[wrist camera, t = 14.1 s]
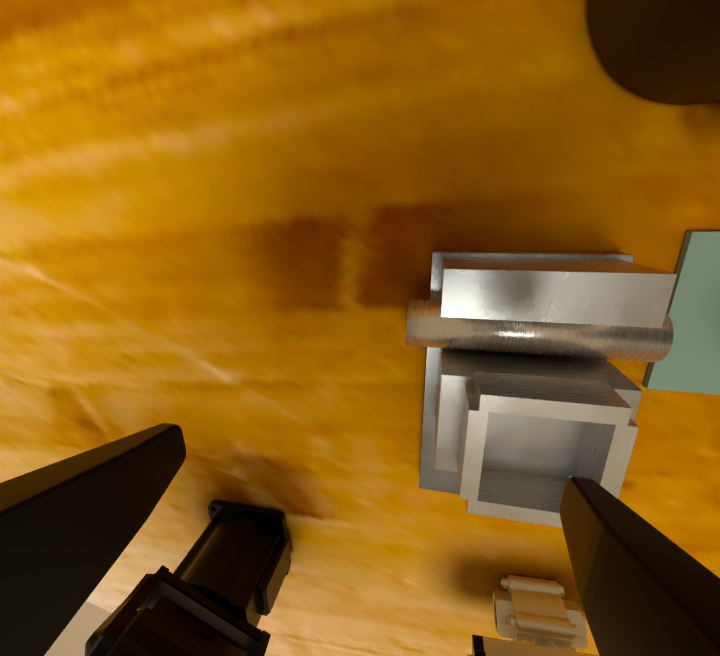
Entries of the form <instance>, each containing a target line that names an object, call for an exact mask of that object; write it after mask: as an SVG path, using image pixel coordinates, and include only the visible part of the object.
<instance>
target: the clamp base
mask: <svg viewBox="0 0 720 656" xmlns="http://www.w3.org/2000/svg"><path fill="white" fill-rule="evenodd" d="M633 258H634V255H630V254H626V253H621V252H545V251H462V250H433V255H432V272H431V290H430V300H424V299H410V300H409V306H408V316H407V346H419V347H427V359H426V377H425V394H424V411H423V429H422V446H421V464H420V481H419V488H422V489H428V490H435V491H442V492H449V493H455V494H459V483H458V472H452V471H445V470H437V469H435V416H436V402H437V387H438V373H439V359H440V348H448V349H463V350H478V351H493V352H508V353H523V354H537V355H552V356H567V357H582V358H597V359H606V360H608V361H609V359H612V360H627V361H641V362H659V361H661V360H663V359H664V358H665V357H666V356H667V355H668V353H669V351H670V349H671V347H672V343H673V337H674V330H673V324H672V321H671V319H670V317H669V315H668V314H667V313H666V311H667V308H668V304H669V301H670V297H671V294H672V290H673V287H674V283H675V280H676V276H677V274H674V273H670V272H666V271H662V270H659V269H655V268H651V267H647V266H643V265H639V264H636V263H632V262H633Z"/></svg>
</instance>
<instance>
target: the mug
mask: <svg viewBox="0 0 720 656" xmlns="http://www.w3.org/2000/svg"><path fill="white" fill-rule="evenodd" d="M589 11H590V22H591V28H592V33H593V37H594V40H595V44H596V47H597V49H598V51H599V53H600V56H601V58H602V60H603V61H604V63H605V65H606V66H607V67H608V69H609V70H610V71H611V73H612V74H613V75H614V76H615V77H616V78H617V79H618V80H619V81H620V82H621V83H623V84H624V85H625V86H626V87H628V88H629V89H631V90H633V91H635V92H636V93H638V94H640V95H642V96H644V97H647V98H650V99H653V100H656V101H660V102H664V103H671V104H678V105H687V104H704V103H710V102H715V101H720V0H589Z"/></svg>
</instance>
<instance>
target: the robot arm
mask: <svg viewBox="0 0 720 656" xmlns="http://www.w3.org/2000/svg"><path fill="white" fill-rule="evenodd" d="M185 458H186V447H185V442H184V438H183V433H182V429H181V427H180V426H179V425H176V424H169V423H162V424H159V425H157V426H154V427H151V428H148V429H146V430H143V431H140V432H138V433H135V434H132V435H129V436H127V437H124V438H121V439H119V440H116V441H113V442H110V443H108V444H105V445H102V446H100V447H97V448H94V449H91V450H89V451H86V452H83V453H81V454H78V455H75V456H72V457H70V458H67V459H64V460H62V461H59V462H56V463H53V464H51V465H48V466H45V467H43V468H40V469H37V470H34V471H32V472H29V473H26V474H24V475H21V476H18V477H16V478H13V479H10V480H7V481H5V482H2V483H0V656H44V655H45V654H46V652H47V651H48V650H49V648H50V647H51V646H52V644H53V643H54V642H55V640H56V639H57V638H58V637H59V635H60V634H61V633H62V631H63V629H65V627H66V626H67V625H68V623H69V622H70V621H71V619H72V618H73V617H74V615H75V614H76V613H77V611H78V610H79V609H80V607H81V606H82V605H83V603H84V602H85V601H86V600H87V598H88V597H89V596H90V594H91V593H92V592H93V590H94V589H95V588H96V586H97V585H98V584H99V582H100V581H101V580H102V578H103V577H104V576H105V574H106V573H107V572H108V570H109V569H110V568H111V566H112V565H113V564H114V563H115V561H116V560H117V559H118V557H119V556H120V555H121V553H122V552H123V551H124V549H125V548H126V547H127V545H128V544H129V543H130V541H131V540H132V539H133V537H134V536H135V535H136V533H137V532H138V531H139V529H140V528H141V527H142V525H143V524H144V523H145V521H146V520H147V518H148V517H149V516H150V514H151V513H152V511H153V510H154V508H155V506H156V505H157V503H158V502H159V500H160V499H161V497H162V495H163V494H164V492H165V491H166V489H167V488H168V486H169V484H170V483H171V481H172V480H173V478H174V476H175V475H176V473H177V472H178V470H179V469H180V467H181V465H182V464H183V462H184V460H185ZM208 510H209V515H210V520H211V522H210V523H209V525H208V526H207V527H206V529H205V530H204V532H203V533H202V534H201V536H200V537H199V538H198V540H197V541H196V543H195V544H194V545H193V547H192V548H191V549H190V551H189V552H188V554H187V555H186V556H185V558H184V559H183V560H182V562H181V563H180V565H179V566H178V567H177V569H176V570H175V571H174V573H171V572H169V569H168V568H166V567H165V566H163V565H162V566H161V567H160V569H159V570H158V571H157V572H156V573H155V574H146V575H145V576H144V577H143V579H142V580H141V581H140V582H139V584H138V585H137V586H136V587H135V589H134V590H133V591H132V592H131V593H130V595H129V596H128V597H127V598H126V599H125V600H124V602H123V603H122V604H121V605H120V606H119V607H118V608H117V609H116V610H115V611H114V612H113V613H112V614H111V615H110V616H109V617H108V618H107V619H106V620H105V621H104V622H103V623H102V625H101V626H99V628H98V629H97V630H96V631H95V632H94V633H93V634H92V635H91V637H90V638H89V639H88V641H87V642H86V644H85V656H264V655H265V652H266V648H267V645H268V642H269V639H270V634H269V633H267V632H266V631H261V630H260V629H258V628H256V627H257V625H258V623H259V620H260V618H261V616H262V615H264V616H267V615H268V614H269V613H270V612H271V609H272V607H273V604H274V602H275V600H276V597H277V595H278V592H279V590H280V587H281V585H282V583H283V580H284V578H285V575H287V574H288V572H289V570H290V563H291V557H290V547H289V540H288V538H287V535H286V525H285V517H284V515H283V513H281V512H279V511H274V510H268V509H262V508H256V507H251V506H245V505H239V504H234V503H228V502H222V501H217V500H213V501H212V502H211V503H210V504H209V506H208ZM560 519H561V523H562V527H563V531H564V535H565V539H566V543H567V548H568V552H569V556H570V560H571V564H572V568H573V572H574V576H575V580H576V584H577V588H578V592H579V596H580V600H581V603H582V606H583V609H584V612H585V615H586V618H587V621H588V624H589V627H590V630H591V633H592V636H593V638H594V641H595V644H596V647H597V650H598V653H599V655H600V656H720V578H719V577H717V576H716V575H715V574H713V573H712V572H711V571H710V570H708V569H707V568H706V567H704V566H703V565H702V564H701V563H699V562H698V561H697V560H695V559H694V558H693V557H692V556H690V555H689V554H688V553H687V552H685V551H684V550H683V549H681V548H680V547H679V546H678V545H676V544H675V543H674V542H672V541H671V540H670V539H669V538H667V537H666V536H665V535H663V534H662V533H661V532H660V531H658V530H657V529H656V528H655V527H653V526H652V525H651V524H649V523H648V522H647V521H646V520H644V519H643V518H642V517H640V516H639V515H638V514H637V513H635V512H634V511H633V510H631V509H630V508H629V507H628V506H626V505H625V504H624V503H623V502H621V501H620V500H619V499H617V498H616V497H615V496H614V495H612V494H611V493H610V492H608V491H607V490H606V489H605V488H603V487H602V486H601V485H599V484H598V483H597V482H596V481H594V480H593V479H591V478H585V477H578V476H570V477H568V478H567V480H566V483H565V487H564V491H563V496H562V500H561V505H560Z"/></svg>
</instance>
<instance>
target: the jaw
mask: <svg viewBox="0 0 720 656" xmlns="http://www.w3.org/2000/svg"><path fill="white" fill-rule="evenodd" d="M642 393H643V391H642V390H641V389H640V388H638V387H637V386H636V385H635V384H634V383H633V382H632V381H630V380H629V379H628V378H627V377H626V376H625V375H624V374H622V373H621V372H620V371H619V370H618V369H617V368H616V367H614V366H613V365H612V364H611V363H610V362H609V361H608V360H606V359H597V358H582V357H567V356H552V355H537V354H523V353H508V352H493V351H478V350H463V349H448V348H440V359H439V373H438V387H437V402H436V416H435V469H437V470H445V471H452V472H458V483H459V495H460V498H462V499H466V508H467V513H472V514H478V515H485V516H491V517H497V518H504V519H510V520H516V521H523V522H529V523H535V524H542V525H548V526H554V527H561V528H563V527H562V523H561V519H560V505H561V500H562V496H563V491H564V487H565V483H566V480H567V478H568V477H570V476H578V477H585V478H591V479H593V480H594V481H596V482H597V483H598V484H599V485H601V486H602V487H603V488H605V489H606V490H607V491H608V492H610V493H611V494H612V495H614V496H615V497H616V498H617V499H618V497H619V494H620V491H621V487H622V484H623V480H624V477H625V474H626V470H627V467H628V463H629V460H630V457H631V453H632V450H633V446H634V443H635V440H636V436H637V433H638V429H639V427H638V426H637V424H636V423H635V422H634V420H635V417H636V413H637V410H638V406H639V403H640V400H641V396H642Z"/></svg>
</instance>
